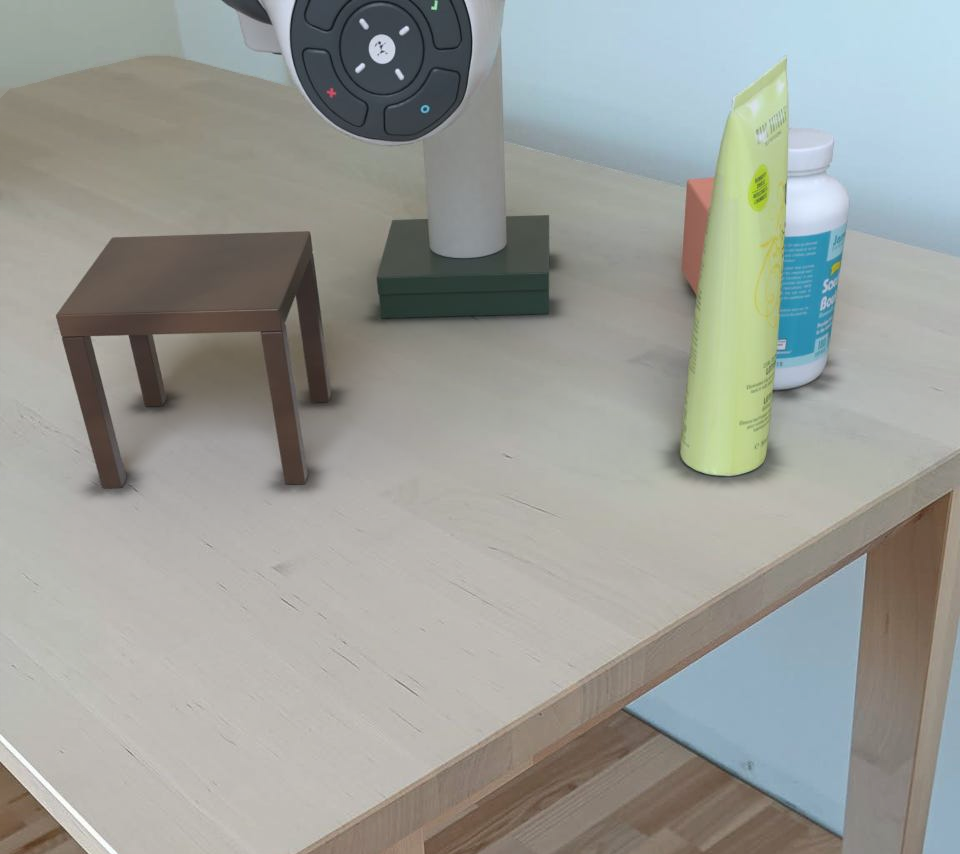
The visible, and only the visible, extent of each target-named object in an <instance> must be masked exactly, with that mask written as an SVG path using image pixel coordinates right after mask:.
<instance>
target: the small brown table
mask: <svg viewBox="0 0 960 854" xmlns="http://www.w3.org/2000/svg"><path fill="white" fill-rule="evenodd" d="M313 251H314V249H313V240H312V235H311V231H310V230H302V231H301V230H299V231H269V232H268V231H267V232H241V233H240V232H238V233H212V234H211V233H206V234H205V233H204V234H179V235H178V234H177V235H175V234H173V235H148V236H147V235H146V236H145V235H144V236H141V235H140V236H113V237H111V238H110V240H109V241H108V242H107V244H106V245H105V246H104V248H103V249H102V251H101V252H100V254H98V256H97V258H96V259H95V260H94V262H93V263H92V264H91V266H90V267H89V268H88V270H87V271H86V273H85V274H84V275H83V277H82V278H81V279H80V281H79V282H78V283H77V285H76V287H75V288H74V289H73V291H72V292H71V293H70V295H69V296H68V298H67V299H66V301H64V303H63V305H62V306H61V307H60V309H59V310H58V311H57V313H56V314H55V318H56V322H57V326H58V329H59V333H60V336H61V341H62V344H63V348H64V352H65V355H66V360H67V363H68V367H69V371H70V375H71V378H72V381H73V385H74V390H75V392H76V396H77V400H78V402H79V407H80V411H81V415H82V419H83V423H84V426H85V429H86V433H87V436H88V440H89V445H90V448H91V452H92V455H93V458H94V459H93V460H94V463H95V466H96V470H97V473H98V476H99V481H100V485H101V487H102V489H119V488H123V486H124V484H125V482H126V480H127V474H126V470H125V467H124V462H123V459H122V454H121V451H120V447H119V444H118V439H117V435H116V431H115V428H114V423H113V420H112V415H111V411H110V408H109V404H108V400H107V396H106V393H105V392H106V391H105V388H104V384H103V381H102V376H101V374H100V373H101V372H100V369H99V365H98V360H97V356H96V352H95V349H94V345H93V341H92V337H111V336H115V337H116V336H128V339H129V344H130V348H131V352H132V357H133V361H134V365H135V369H136V375H137V378H138V382H139V386H140V391H141V395H142V399H143V404H144V406H145V407H164V404H165V403H166V400H167V398H168V397H167V394H166V393H167V392H166V388H165V384H164V380H163V375H162V370H161V366H160V362H159V356H158V352H157V348H156V343H155V339H154V335H183V334H184V335H185V334H187V335H189V334H190V335H191V334H192V335H193V334H225V333H226V334H227V333H260V339H261V345H262V351H263V356H264V363H265V369H266V376H267V382H268V388H269V394H270V400H271V407H272V413H273V418H274V424H275V425H274V426H275V431H276V437H277V443H278V448H279V455H280V463H281V468H282V474H283V475H282V476H283V482H284V485H305V484H306V482H307V478H308V474H309V473H308V466H307V459H306V453H305V445H304V438H303V432H302V425H301V418H300V413H299V404H298V399H297V392H296V385H295V378H294V371H293V366H292V357H291V351H290V345H289V338H288V332H287V325H286V322H287V319H288V316H289V313H290V311H291V308H292V306H293V303H294V301H295V299H296V308H297V315H298V322H299V329H300V335H301V343H302V350H303V357H304V358H303V359H304V364H305V372H306V377H307V385H308V386H307V387H308V393H309V400H310V403H329V402H330V399H331V395H332V390H331V383H330V375H329V374H330V373H329V367H328V358H327V351H326V343H325V336H324V328H323V327H324V326H323V318H322V313H321V311H322V310H321V305H320V304H321V303H320V295H319V288H318V281H317V273H316V265H315V257H314V253H313Z"/></svg>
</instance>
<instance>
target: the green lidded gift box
mask: <svg viewBox="0 0 960 854" xmlns="http://www.w3.org/2000/svg"><path fill="white" fill-rule="evenodd" d="M389 227H390V228H389V230H388V234H387V238H386V242H385V246H384V250H383V252H382V253H383V254H382V256H381V260H380V264H379V268H378V272H377V275H376V287H377V288H376V289H377V294H378V300H379V310H380V318H381V319H403V318H404V319H405V318H407V319H408V318H439V317H441V318H442V317H443V318H444V317H477V316H514V315H518V316H519V315H548V314H550V215H549V214H537V215H536V214H535V215H506V237H507V243H506V246H505V247H504V248H503V249H502V250H500V251H498V252H496V253H494V254H491V255H487V256H483V257H476V258H451V257H445V256H441V255H438V254H436V253H434V252H433V251H432V250H431V249H430V242H429V227H428V218H414V219H413V218H412V219H411V218H410V219H392V220H391V224H390V226H389Z"/></svg>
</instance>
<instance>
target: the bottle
mask: <svg viewBox="0 0 960 854" xmlns="http://www.w3.org/2000/svg"><path fill="white" fill-rule="evenodd" d="M502 59H503V56H502V35H501V36H500V41H499V45H498V49H497V52H496V55H495V59H494V62H493V64H492V66H491V69H490V71H489V73H488V76H487V77H486V79H485V81H484V83H483V85H482V87H481V89H480V90H479V92H478V93H477V95H476V96H475V98H474V100H473V101H472V102H471V104H470V105H469V106H468V108H467V109H466V110H465V111H464V113H463V114H462V115H461V116H460V117H459V118H458V119H457V120H456V121H455V122H454V123H453V124H452V125H450V126H449V127H447V128H446V129H445V130H443V131H442V132H440V133H438V134H436V135H434V136H433V137H430V138H427V139H425V140H422V150H423V167H424V179H425V180H424V181H425V183H424V184H425V194H426V195H425V196H426V210H427V211H426V212H427V219H428V227H429V242H430V249H431V250H432V251H433V252H434V253H436V254H438V255H441V256H445V257H451V258H476V257H483V256H487V255H491V254H494V253H496V252H498V251H500V250H502V249H503V248H504V247H505V246H506V243H507V237H506V216H507V205H506V204H507V203H506V201H507V200H506V169H505V168H506V167H505V134H504V132H505V131H504V129H505V128H504V101H503V100H504V95H503V90H504V89H503V60H502Z"/></svg>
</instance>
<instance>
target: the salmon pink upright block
mask: <svg viewBox="0 0 960 854" xmlns="http://www.w3.org/2000/svg"><path fill="white" fill-rule="evenodd" d="M714 178H715V176H713V177H703V178H691V179H687V180H686V190H685V207H684V222H683V237H682V238H683V239H682V252H681V253H682V254H681V272H682V273H683V276H685V278H686V280H687V282H688V284H689V285H690V287H691V289H692V291H693V292H694V293H695V294H694V295H695V296H696V297H697V291H698V284H699V276H700V269H701V261H702V254H703V247H704V241H705V234H706V227H707V220H708V214H709V209H710V203H711V196H712V190H713V184H714Z"/></svg>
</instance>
